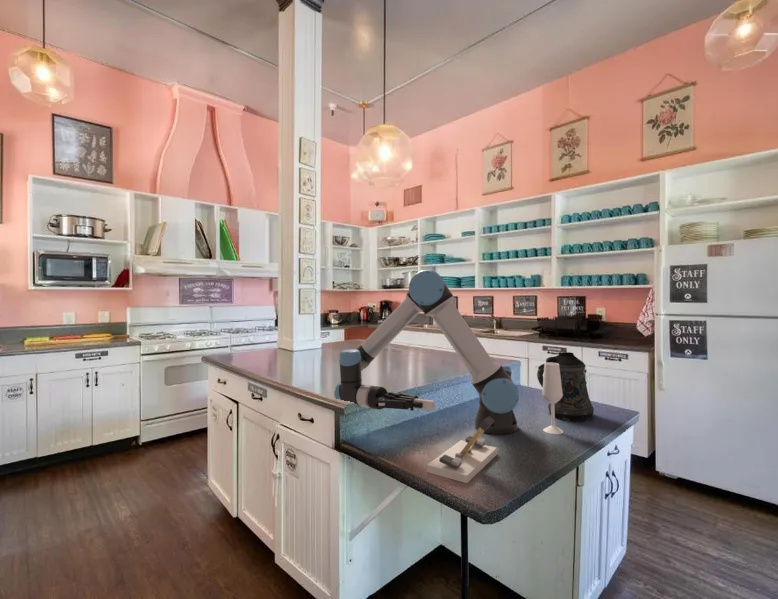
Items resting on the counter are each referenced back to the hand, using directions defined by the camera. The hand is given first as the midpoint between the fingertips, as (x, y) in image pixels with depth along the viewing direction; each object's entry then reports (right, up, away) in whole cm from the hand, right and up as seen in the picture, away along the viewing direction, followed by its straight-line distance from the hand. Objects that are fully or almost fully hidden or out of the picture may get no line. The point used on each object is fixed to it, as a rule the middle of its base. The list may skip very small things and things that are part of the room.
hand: (433, 405), depth 119 cm
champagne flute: (+45, -14, +19) cm, 51 cm away
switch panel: (+8, -15, -5) cm, 18 cm away
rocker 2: (+13, -12, +1) cm, 18 cm away
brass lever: (+8, -12, -5) cm, 16 cm away
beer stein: (+57, -14, +35) cm, 69 cm away
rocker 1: (+3, -12, -12) cm, 18 cm away
